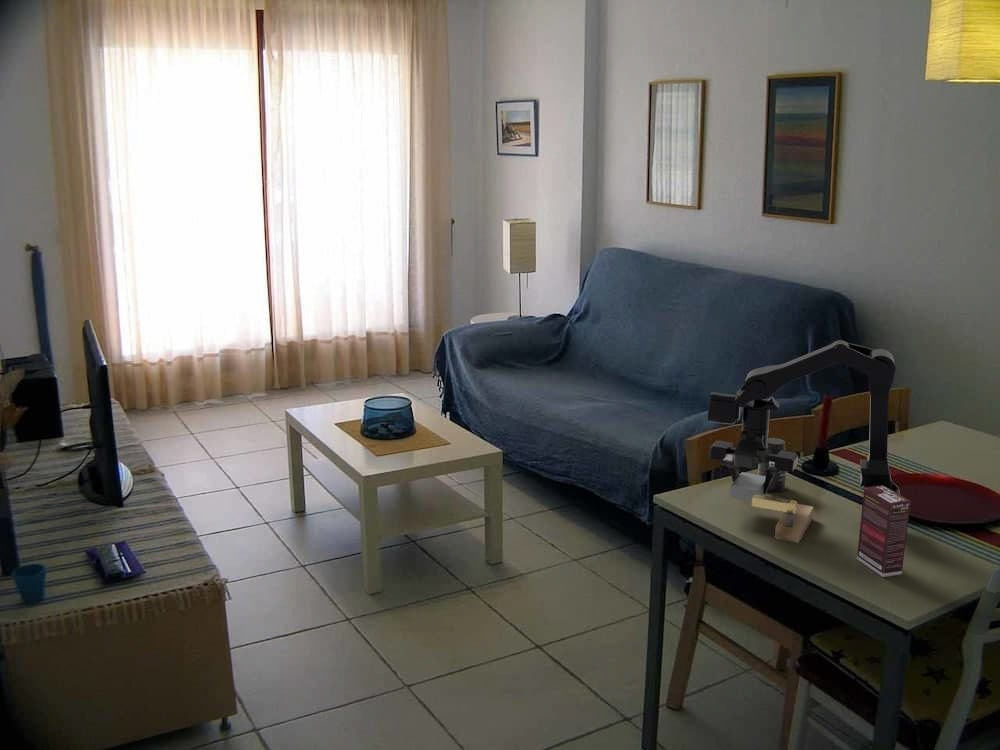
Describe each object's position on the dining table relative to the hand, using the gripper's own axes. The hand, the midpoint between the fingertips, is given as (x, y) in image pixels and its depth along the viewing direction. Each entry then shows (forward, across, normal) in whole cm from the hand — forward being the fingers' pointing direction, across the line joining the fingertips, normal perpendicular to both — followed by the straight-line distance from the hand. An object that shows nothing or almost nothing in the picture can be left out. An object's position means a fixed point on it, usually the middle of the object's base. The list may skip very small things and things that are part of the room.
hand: (750, 491), depth 218 cm
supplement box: (+6, +30, -14) cm, 33 cm away
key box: (+5, +11, -4) cm, 13 cm away
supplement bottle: (+6, +1, +17) cm, 18 cm away
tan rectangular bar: (-1, +8, -10) cm, 12 cm away
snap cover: (0, 0, -2) cm, 2 cm away
